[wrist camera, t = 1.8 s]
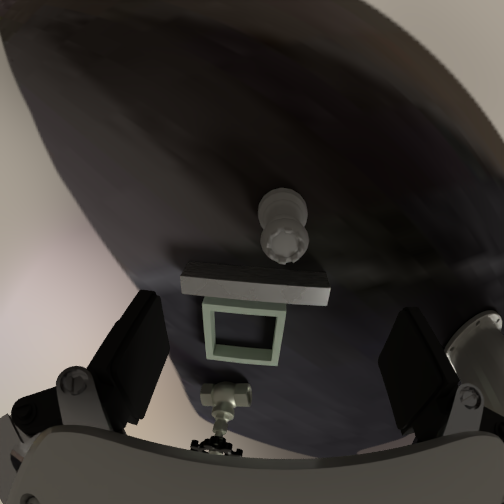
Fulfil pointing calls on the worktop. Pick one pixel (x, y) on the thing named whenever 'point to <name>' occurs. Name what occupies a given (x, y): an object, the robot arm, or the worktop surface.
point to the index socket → (242, 353)
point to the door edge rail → (255, 283)
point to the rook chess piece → (283, 225)
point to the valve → (222, 414)
